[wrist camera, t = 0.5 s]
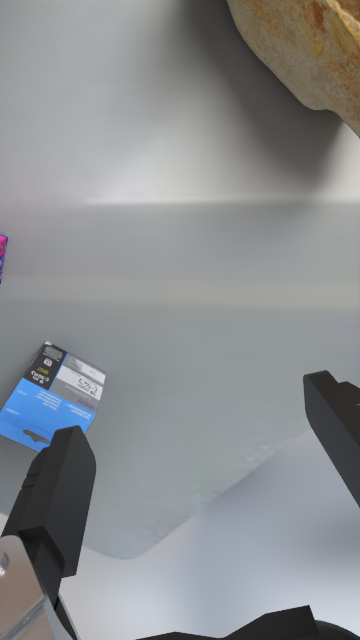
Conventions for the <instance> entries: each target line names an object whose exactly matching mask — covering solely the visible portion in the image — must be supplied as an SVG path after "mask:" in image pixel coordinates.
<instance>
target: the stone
mask: <svg viewBox="0 0 360 640" xmlns="http://www.w3.org/2000/svg"><path fill="white" fill-rule="evenodd" d="M226 1H227V3H228V6H229V9H230V11H231V14H232V17H233V20H234V22H235V25H236V27H237V29H238V31H239V33H240V35H241V36H242V38H243V39H244V41H245V42H246V43H247V45H248V46H249V47H250V49H251V50H252V51H253V53H254V54H255V55H256V56H257V57H258V58H259V59H260V60H261V61H262V62H263V63H264V64H265V65H266V66H267V67H268V68H269V69H270V70H271V71H272V72H273V73H274V74H275V75H276V77H277V78H278V79H279V80H280V81H281V82H282V83H283V84H284V85H285V86H286V87H287V88H288V89H289V90H290V91H291V92H292V93H293V95H294V96H295V97H296V98H297V99H298V100H299V101H300V102H301V103H302V104H303V105H304V106H306V107H308V108H310V109H312V110H325V109H328V110H331V111H333V112H335V113H336V114H338V116H339V117H340V118H341V119H342V120H343V121H344V122H345V123H346V124H347V125H348V126H349V127H350V128H351V129H352V130H353V131H354V132H355V134H356V135H357V136H358V137H359V138H360V0H226Z"/></svg>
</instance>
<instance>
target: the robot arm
mask: <svg viewBox="0 0 360 640" xmlns="http://www.w3.org/2000/svg"><path fill="white" fill-rule="evenodd" d="M303 384H304V398H305V410H306V415H307V418H308V421H309V423H310V425H311V427H312V429H313V431H314V432H315V434H316V436H317V437H318V439H319V441H320V442H321V444H322V446H323V447H324V449H325V451H326V452H327V454H328V456H329V457H330V459H331V461H332V462H333V464H334V466H335V467H336V469H337V471H338V472H339V474H340V476H341V477H342V479H343V481H344V482H345V484H346V486H347V487H348V489H349V491H350V492H351V494H352V496H353V497H354V499H355V501H356V502H357V504H358V506H359V507H360V388H358V387H356V386H355V385H353V384H351V383H349V382H347V381H346V382H341V383H338V382H337V381H336V380H335V379H334V377H333V376H332V375H331V374H330V373H329V372H328V371H327V370H324V371H320V372H315V373H311V374H306V375H304V377H303ZM95 475H96V461H95V457H94V454H93V452H92V450H91V448H90V445H89V443H88V441H87V439H86V437H85V435H84V433H83V431H82V429H81V427H80V426H79V425H75V426H70V427H66V428H61V429H57V430H56V431H55V432H54V435H53V437H52V440H51V442H50V445H49V447H45V448H43V449H42V450H41V451H40V452H39V454H38V455H37V456H36V457H35V459H34V460H33V461H32V463H31V466H30V468H29V470H28V473H27V475H26V476H27V478H25V480H24V482H23V485H22V487H21V488H22V490H20V492H19V494H18V497H17V499H16V501H15V504H14V506H13V509H12V511H11V513H10V516H9V518H8V520H7V523H6V525H5V528H4V530H3V532H2V535H1V537H0V640H81V639H80V637H79V635H78V632H77V630H76V628H75V626H74V624H73V621H72V619H71V617H70V615H69V613H68V610H67V608H66V606H65V604H64V602H63V599H62V597H61V596H60V594H59V587H60V582H61V578H64V577H69V576H74V575H76V571H77V566H78V561H79V556H80V551H81V546H82V541H83V536H84V531H85V526H86V521H87V515H88V510H89V505H90V500H91V495H92V490H93V485H94V480H95ZM136 640H360V637H359V636H357V635H355V634H354V633H352V632H350V631H349V630H347V629H344V628H342V627H340V626H337V625H335V624H331V623H327V622H324V621H319V620H314V617H313V614H312V611H311V609H310V606H309V605H307V606H302V607H297V608H292V609H287V610H282V611H277V612H272V613H267V614H264V615H262V616H261V617H259V618H257V619H255V620H254V621H252V622H250V623H249V624H247V625H245V626H243V627H242V628H240V629H238V630H237V631H235V632H233V633H232V634H230V635H228V636H226V637H224V638H213V637H207V636H200V635H194V634H187V633H180V632H172V633H166V634H161V635H157V636H151V637H146V638H142V639H136Z"/></svg>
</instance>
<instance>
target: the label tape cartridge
mask: <svg viewBox="0 0 360 640" xmlns="http://www.w3.org/2000/svg"><path fill="white" fill-rule="evenodd" d="M105 377H106V374H105V373H104V372H102V371H100V370H98V369H96V368H95V367H93V366H91V365H89V364H87V363H85V362H84V361H82V360H80V359H78V358H76V357H75V356H73V355H71V354H69V353H67V352H66V351H64V350H62V349H60V348H58V347H57V346H55V345H53V344H51V343H49V342H47V341H46V342H45V343H44V345H43V346H42V348H41V349H40V351H39V352H38V354H37V355H36V357H35V358H34V360H33V361H32V363H31V364H30V366H29V367H28V369H27V370H26V372H25V373H24V375H23V376H22V378H21V379H20V381H19V383H18V384H17V386H16V387H15V389H14V390H13V392H12V393H11V395H10V396H9V398H8V399H7V401H6V402H5V404H4V406H3V407H2V409H1V412H0V435H2V436H4V437H7V438H9V439H11V440H13V441H15V442H18V443H20V444H22V445H24V446H27V447H29V448H31V449H33V450H35V451H38V452H40V451H41V450H42V449H43V448H45V447H49V445H50V443H49V444H46V443H43V442H41V441H38V442H34V441H33V440H32V437H31V436H28V435H26V434H24V433H23V431H24V430H28V431H31V432H33V433H35V434H37V435H39V436H41V437H43V438H46V439H48V440H49V442H51V440H52V437H53V435H54V432H55V431H56V430H57V429H61V428H66V427H70V426H75V425H79V426H80V427H81V429H82V431H83V433H84V434H85V433H86V431H87V429H88V428H89V426H90V424H91V423H92V421H93V419H94V417H95V416H96V413H97V409H98V405H99V401H100V398H101V394H102V390H103V386H104V382H105Z"/></svg>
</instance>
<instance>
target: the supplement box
mask: <svg viewBox="0 0 360 640" xmlns="http://www.w3.org/2000/svg"><path fill="white" fill-rule="evenodd" d="M7 240H8V237H6V236H3V235H0V284H1V277H2V268H3V262H4V256H5V250H6V245H7Z"/></svg>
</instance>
